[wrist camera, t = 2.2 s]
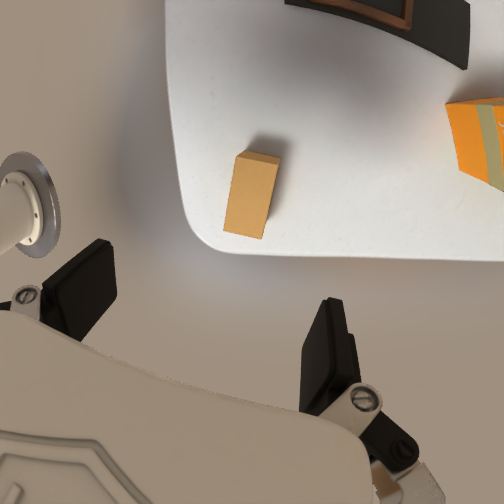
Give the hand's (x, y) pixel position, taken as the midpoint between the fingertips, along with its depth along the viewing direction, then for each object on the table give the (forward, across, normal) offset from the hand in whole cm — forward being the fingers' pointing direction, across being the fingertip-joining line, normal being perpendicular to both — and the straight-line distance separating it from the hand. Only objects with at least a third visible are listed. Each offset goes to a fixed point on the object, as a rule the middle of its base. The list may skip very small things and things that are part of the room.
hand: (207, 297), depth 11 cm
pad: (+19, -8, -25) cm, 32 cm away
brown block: (+19, +1, 0) cm, 19 cm away
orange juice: (+19, -22, -14) cm, 33 cm away
